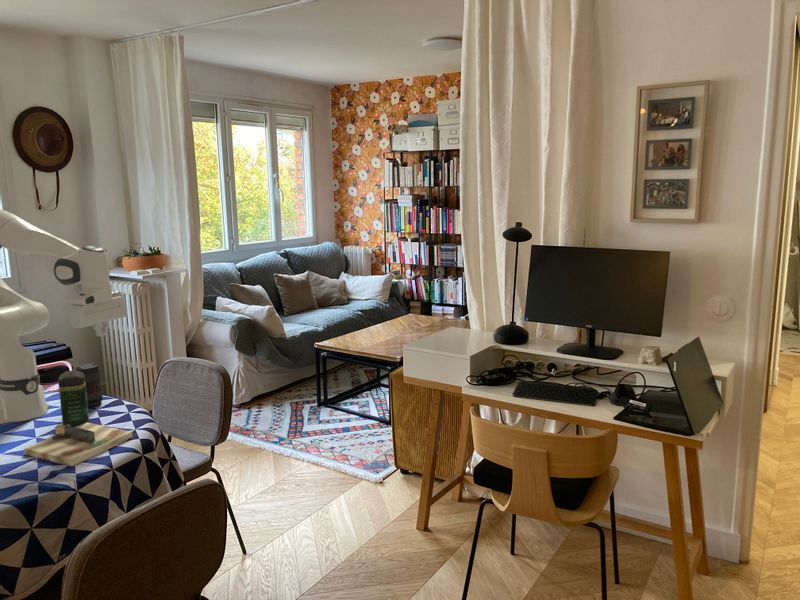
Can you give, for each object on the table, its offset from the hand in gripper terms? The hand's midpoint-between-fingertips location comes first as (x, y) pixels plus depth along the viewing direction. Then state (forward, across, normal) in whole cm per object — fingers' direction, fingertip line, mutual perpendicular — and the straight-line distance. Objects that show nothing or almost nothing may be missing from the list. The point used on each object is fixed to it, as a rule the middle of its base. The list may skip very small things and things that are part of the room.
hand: (101, 335), depth 210 cm
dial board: (+29, +21, +11) cm, 38 cm away
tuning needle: (+27, +21, +9) cm, 35 cm away
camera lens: (+29, -6, -16) cm, 34 cm away
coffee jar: (+29, +10, -4) cm, 31 cm away
